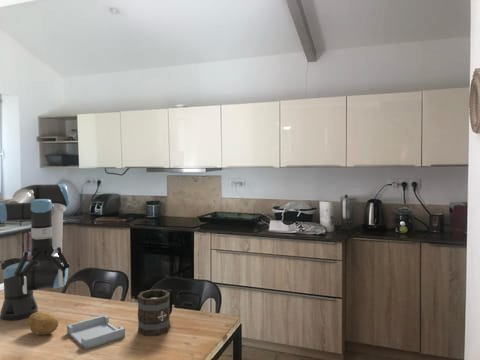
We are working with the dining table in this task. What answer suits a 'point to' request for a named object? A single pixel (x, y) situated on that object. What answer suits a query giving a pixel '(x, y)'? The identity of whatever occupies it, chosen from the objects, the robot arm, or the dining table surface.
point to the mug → (154, 312)
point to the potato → (42, 323)
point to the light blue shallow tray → (94, 332)
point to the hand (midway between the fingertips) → (43, 289)
